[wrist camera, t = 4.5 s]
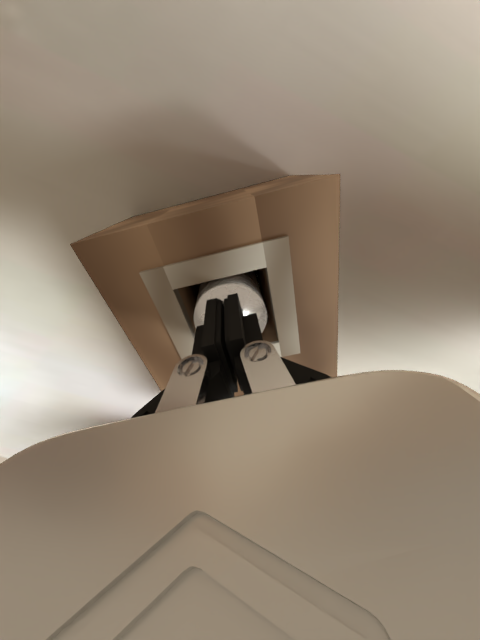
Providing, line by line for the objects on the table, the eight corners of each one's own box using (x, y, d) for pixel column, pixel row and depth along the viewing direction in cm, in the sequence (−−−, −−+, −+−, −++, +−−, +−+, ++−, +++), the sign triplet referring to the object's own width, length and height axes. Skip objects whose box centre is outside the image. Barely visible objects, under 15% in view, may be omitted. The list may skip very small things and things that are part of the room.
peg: (247, 242, 17) (260, 277, 11) (256, 289, 19) (272, 340, 13) (196, 255, 17) (182, 296, 11) (211, 300, 19) (206, 354, 14)
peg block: (290, 175, 16) (342, 174, 9) (308, 382, 28) (336, 450, 21) (131, 217, 17) (67, 245, 10) (214, 401, 29) (211, 473, 22)
